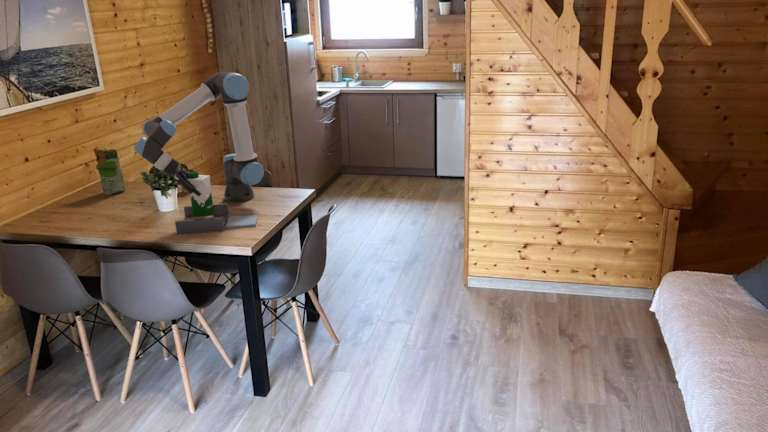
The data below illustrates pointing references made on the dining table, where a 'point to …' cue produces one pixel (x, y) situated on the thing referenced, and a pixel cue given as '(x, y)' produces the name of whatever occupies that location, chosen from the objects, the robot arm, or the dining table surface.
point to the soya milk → (198, 204)
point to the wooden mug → (188, 171)
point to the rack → (203, 221)
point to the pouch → (109, 170)
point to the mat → (242, 221)
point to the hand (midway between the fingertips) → (208, 195)
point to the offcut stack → (199, 217)
